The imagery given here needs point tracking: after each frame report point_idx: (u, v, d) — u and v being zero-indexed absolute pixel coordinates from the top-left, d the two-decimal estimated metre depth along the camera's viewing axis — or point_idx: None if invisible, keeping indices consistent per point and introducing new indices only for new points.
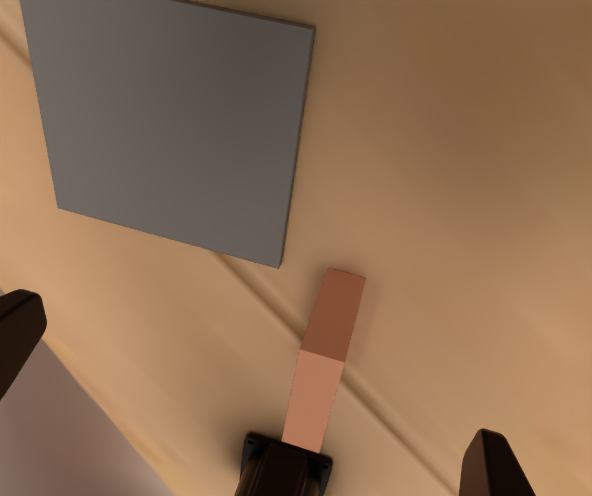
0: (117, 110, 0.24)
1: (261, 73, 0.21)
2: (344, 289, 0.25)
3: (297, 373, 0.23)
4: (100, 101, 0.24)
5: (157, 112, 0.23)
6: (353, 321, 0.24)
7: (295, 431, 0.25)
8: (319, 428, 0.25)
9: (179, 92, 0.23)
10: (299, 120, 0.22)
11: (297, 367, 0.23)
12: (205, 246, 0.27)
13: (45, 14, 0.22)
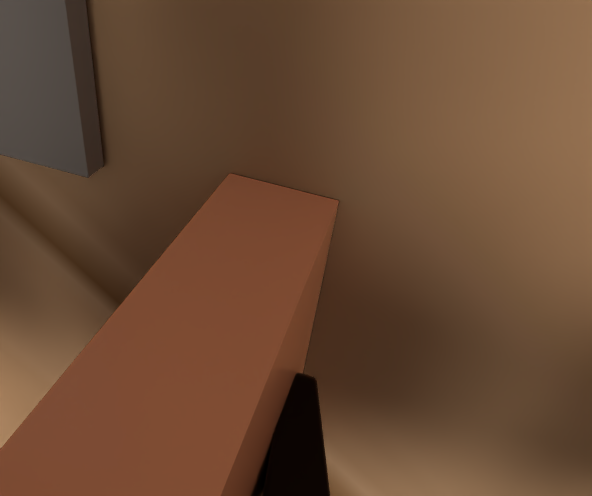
0: None
1: None
2: (264, 230, 0.08)
3: None
4: None
5: None
6: (277, 338, 0.06)
7: None
8: None
9: None
10: None
11: None
12: None
13: None
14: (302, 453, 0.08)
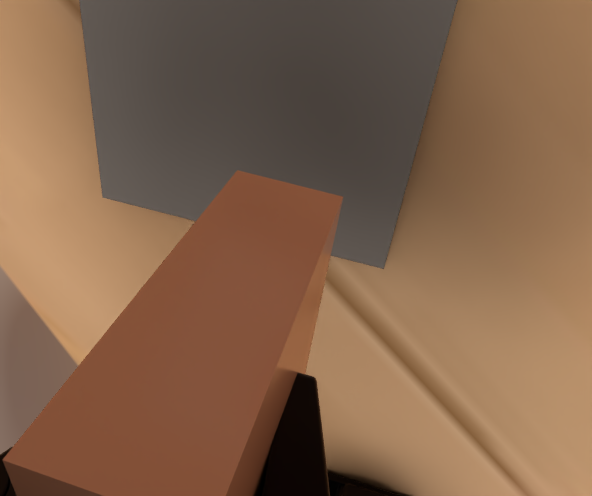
0: (189, 64, 0.19)
1: (393, 2, 0.16)
2: (272, 224, 0.08)
3: None
4: (167, 53, 0.19)
5: (243, 65, 0.18)
6: (286, 326, 0.06)
7: None
8: None
9: (275, 35, 0.17)
10: (438, 67, 0.17)
11: None
12: None
13: None
14: (302, 453, 0.08)
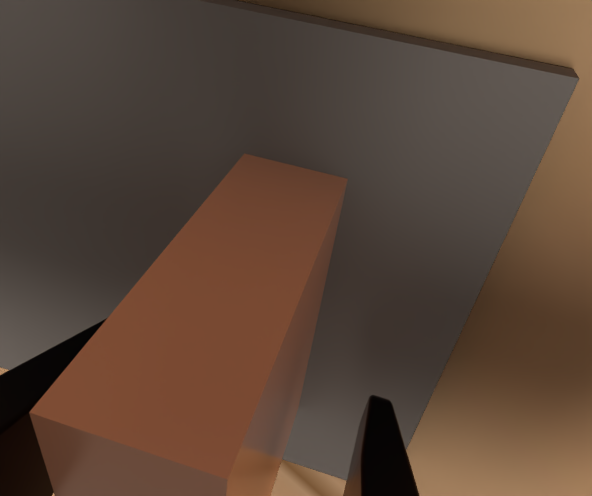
0: (84, 224, 0.12)
1: (413, 173, 0.09)
2: (279, 204, 0.08)
3: None
4: (48, 206, 0.12)
5: (165, 235, 0.11)
6: (295, 296, 0.07)
7: None
8: None
9: None
10: (486, 271, 0.10)
11: (55, 479, 0.06)
12: None
13: None
14: (393, 483, 0.08)
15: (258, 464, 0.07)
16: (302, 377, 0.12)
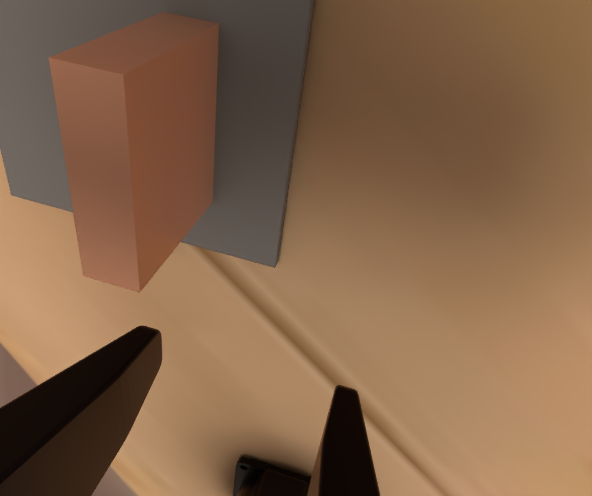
0: None
1: (251, 16, 0.16)
2: (175, 26, 0.16)
3: (62, 119, 0.13)
4: None
5: None
6: (170, 48, 0.14)
7: (95, 252, 0.16)
8: (127, 240, 0.15)
9: None
10: (300, 79, 0.17)
11: (58, 104, 0.13)
12: (186, 241, 0.23)
13: None
14: (352, 469, 0.08)
15: (155, 133, 0.14)
16: (207, 163, 0.19)
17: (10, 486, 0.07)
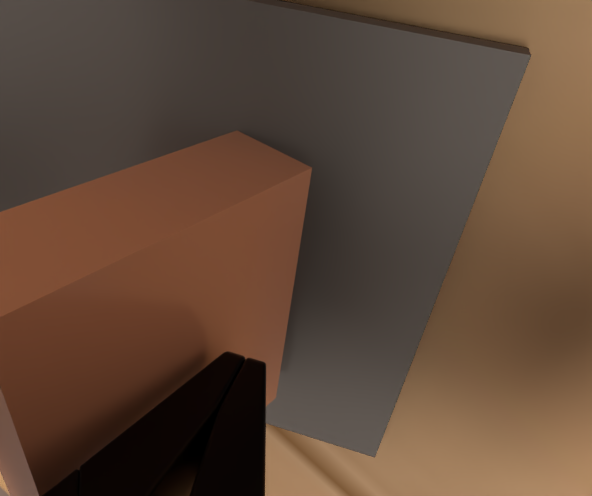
0: None
1: (389, 145, 0.10)
2: (225, 171, 0.09)
3: None
4: (58, 185, 0.13)
5: None
6: (163, 236, 0.07)
7: None
8: None
9: None
10: (458, 236, 0.11)
11: None
12: None
13: None
14: (242, 433, 0.08)
15: (109, 376, 0.08)
16: (266, 359, 0.12)
17: None
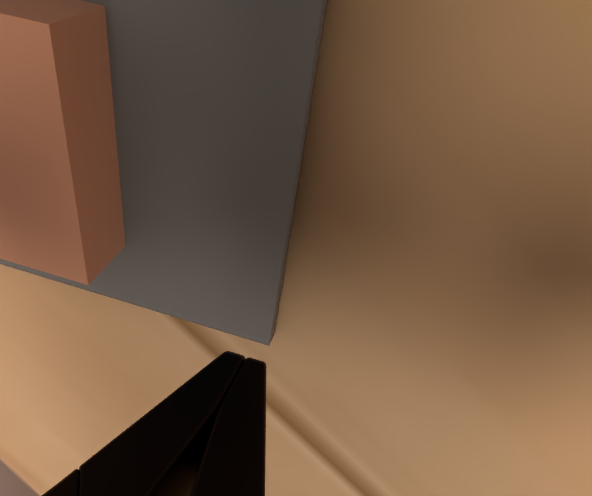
0: None
1: (234, 15, 0.11)
2: (17, 2, 0.11)
3: None
4: None
5: None
6: None
7: None
8: None
9: None
10: (305, 106, 0.12)
11: None
12: (154, 307, 0.17)
13: None
14: (242, 433, 0.08)
15: None
16: (56, 218, 0.13)
17: None
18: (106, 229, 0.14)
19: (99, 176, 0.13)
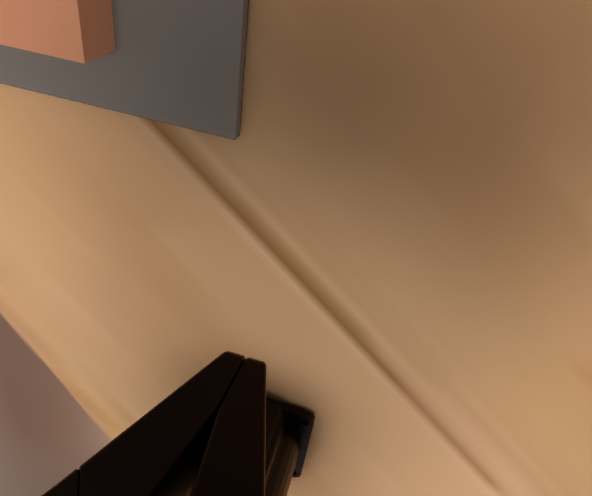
0: None
1: None
2: None
3: None
4: None
5: None
6: None
7: None
8: None
9: None
10: None
11: None
12: (140, 113, 0.21)
13: None
14: (241, 433, 0.08)
15: None
16: None
17: None
18: (99, 20, 0.18)
19: None
